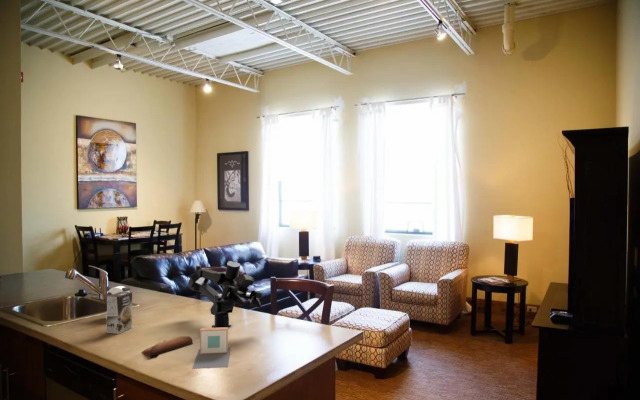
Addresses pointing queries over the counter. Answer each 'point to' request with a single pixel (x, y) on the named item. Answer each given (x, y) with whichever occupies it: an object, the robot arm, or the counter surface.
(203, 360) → the mat
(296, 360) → the counter surface
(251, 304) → the robot arm
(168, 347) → the sunglasses case
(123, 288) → the white piece
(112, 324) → the coffee box
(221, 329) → the tile
